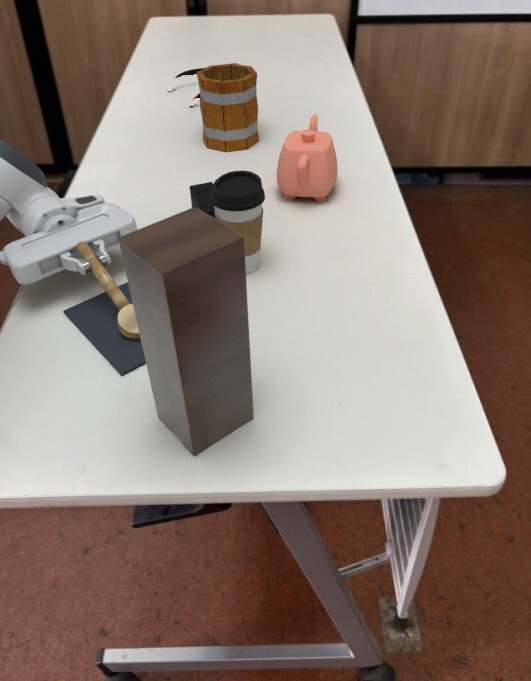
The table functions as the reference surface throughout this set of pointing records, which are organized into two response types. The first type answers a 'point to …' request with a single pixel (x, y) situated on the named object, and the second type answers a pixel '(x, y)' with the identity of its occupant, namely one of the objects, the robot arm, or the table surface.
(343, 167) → the table surface
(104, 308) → the mat
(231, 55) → the table surface
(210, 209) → the digital camera
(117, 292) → the spoon
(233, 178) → the coffee cup
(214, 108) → the wooden barrel
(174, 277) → the stand
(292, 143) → the teapot
